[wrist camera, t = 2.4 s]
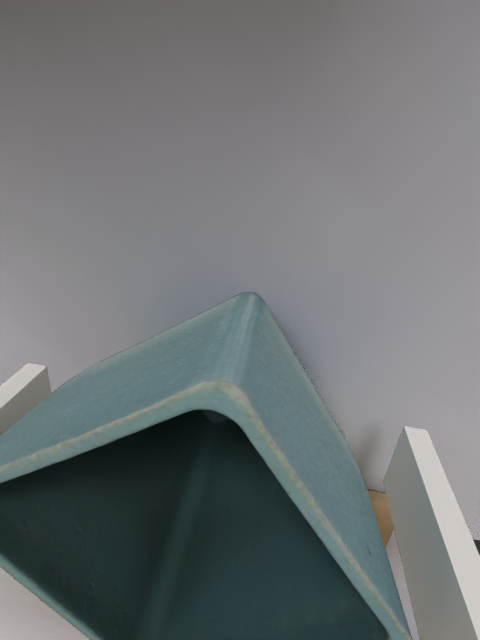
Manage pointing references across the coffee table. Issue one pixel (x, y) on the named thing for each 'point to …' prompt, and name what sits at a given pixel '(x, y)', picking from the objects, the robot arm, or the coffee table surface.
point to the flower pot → (196, 495)
